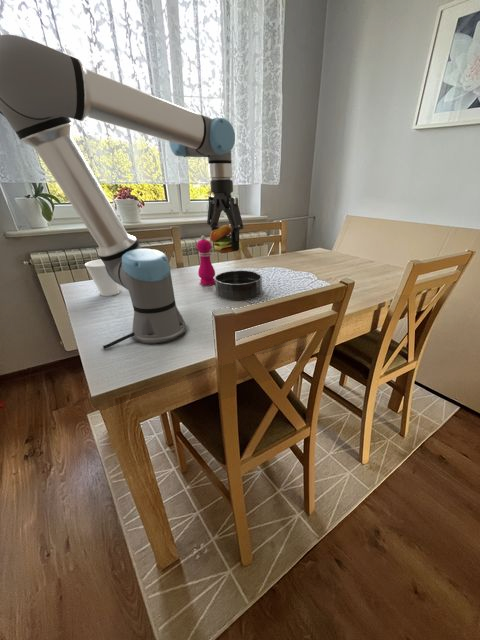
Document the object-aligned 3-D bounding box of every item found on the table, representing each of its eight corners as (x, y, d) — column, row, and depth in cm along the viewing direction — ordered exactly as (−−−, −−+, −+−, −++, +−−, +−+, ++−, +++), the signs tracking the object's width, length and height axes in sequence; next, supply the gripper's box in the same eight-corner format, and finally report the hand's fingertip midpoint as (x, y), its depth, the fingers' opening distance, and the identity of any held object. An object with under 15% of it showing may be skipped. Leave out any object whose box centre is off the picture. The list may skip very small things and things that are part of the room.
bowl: (235, 304, 107) (234, 287, 104) (207, 292, 119) (205, 276, 116) (271, 293, 118) (271, 277, 115) (242, 282, 130) (241, 268, 127)
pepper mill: (208, 287, 125) (203, 237, 115) (196, 284, 128) (190, 236, 118) (219, 282, 130) (215, 235, 120) (207, 280, 133) (202, 233, 123)
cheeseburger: (238, 254, 103) (230, 224, 98) (211, 260, 106) (202, 232, 101) (245, 247, 111) (238, 220, 107) (220, 253, 114) (212, 227, 110)
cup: (87, 296, 116) (76, 265, 109) (108, 287, 125) (100, 257, 119) (111, 299, 113) (102, 267, 106) (132, 289, 122) (124, 259, 116)
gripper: (253, 179, 91) (254, 251, 103) (210, 179, 106) (216, 242, 117) (234, 179, 87) (237, 254, 98) (192, 179, 102) (200, 244, 113)
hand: (226, 247), depth 108 cm, fingers closed on cheeseburger, 11 cm apart
